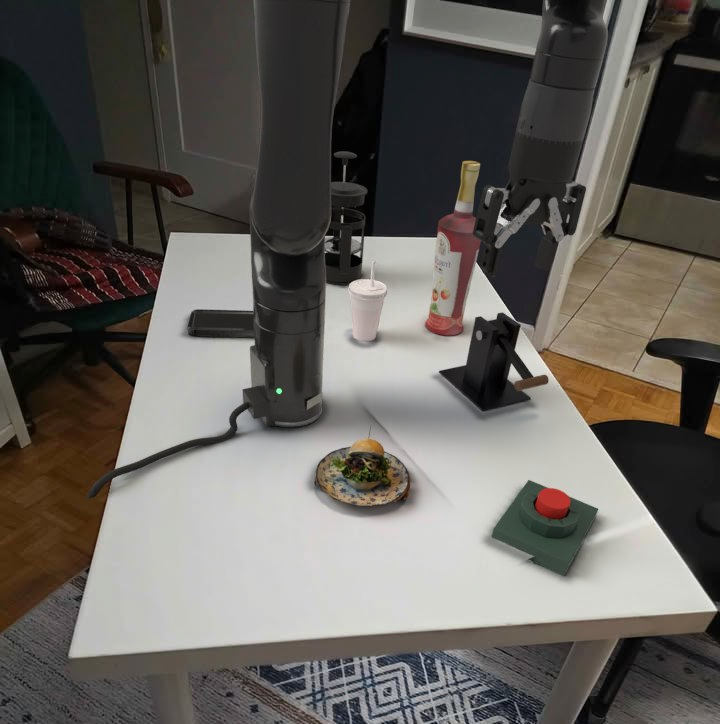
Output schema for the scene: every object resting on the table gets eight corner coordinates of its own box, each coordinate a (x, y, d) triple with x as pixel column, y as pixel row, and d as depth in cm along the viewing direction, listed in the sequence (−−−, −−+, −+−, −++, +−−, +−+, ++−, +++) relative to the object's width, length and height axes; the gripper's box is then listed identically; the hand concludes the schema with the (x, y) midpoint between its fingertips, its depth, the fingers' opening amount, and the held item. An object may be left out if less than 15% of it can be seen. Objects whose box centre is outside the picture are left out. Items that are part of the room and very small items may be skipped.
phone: (192, 309, 113) (278, 311, 114) (192, 315, 114) (278, 317, 115) (186, 330, 107) (277, 331, 108) (187, 336, 108) (277, 338, 109)
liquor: (471, 337, 115) (505, 168, 97) (437, 344, 112) (465, 171, 94) (448, 320, 119) (476, 155, 101) (415, 326, 116) (438, 158, 99)
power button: (560, 524, 73) (564, 513, 72) (530, 511, 74) (534, 500, 73) (570, 507, 75) (574, 496, 74) (541, 495, 77) (545, 483, 75)
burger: (296, 491, 79) (296, 442, 75) (346, 445, 87) (350, 398, 83) (380, 531, 75) (386, 481, 70) (425, 478, 83) (434, 431, 78)
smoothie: (378, 352, 108) (386, 270, 99) (341, 346, 109) (346, 264, 100) (385, 335, 113) (393, 256, 104) (349, 329, 114) (354, 250, 105)
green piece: (564, 576, 72) (574, 551, 69) (489, 542, 75) (496, 516, 72) (593, 521, 79) (603, 497, 76) (524, 492, 82) (532, 468, 80)
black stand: (529, 404, 99) (549, 334, 91) (481, 416, 95) (498, 344, 88) (483, 367, 107) (498, 299, 99) (437, 377, 103) (449, 308, 96)
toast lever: (544, 388, 92) (551, 377, 90) (516, 395, 90) (523, 384, 88) (501, 328, 97) (507, 317, 95) (474, 334, 95) (479, 322, 93)
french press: (313, 265, 135) (316, 144, 120) (357, 265, 137) (365, 146, 122) (320, 289, 126) (324, 161, 111) (367, 288, 128) (377, 163, 113)
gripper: (521, 140, 67) (487, 289, 77) (620, 137, 73) (577, 277, 83) (479, 123, 72) (453, 265, 82) (575, 122, 78) (540, 255, 88)
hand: (515, 271), depth 83 cm, fingers open, 8 cm apart
